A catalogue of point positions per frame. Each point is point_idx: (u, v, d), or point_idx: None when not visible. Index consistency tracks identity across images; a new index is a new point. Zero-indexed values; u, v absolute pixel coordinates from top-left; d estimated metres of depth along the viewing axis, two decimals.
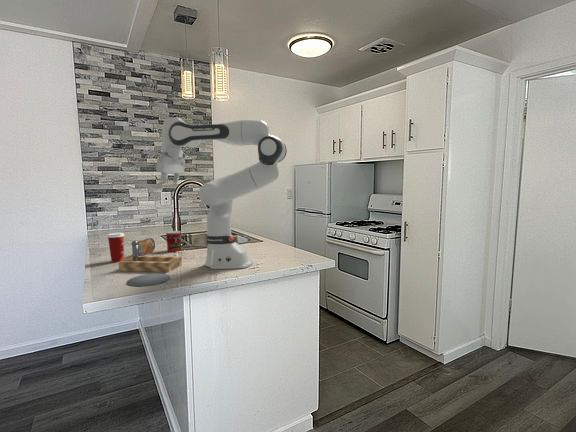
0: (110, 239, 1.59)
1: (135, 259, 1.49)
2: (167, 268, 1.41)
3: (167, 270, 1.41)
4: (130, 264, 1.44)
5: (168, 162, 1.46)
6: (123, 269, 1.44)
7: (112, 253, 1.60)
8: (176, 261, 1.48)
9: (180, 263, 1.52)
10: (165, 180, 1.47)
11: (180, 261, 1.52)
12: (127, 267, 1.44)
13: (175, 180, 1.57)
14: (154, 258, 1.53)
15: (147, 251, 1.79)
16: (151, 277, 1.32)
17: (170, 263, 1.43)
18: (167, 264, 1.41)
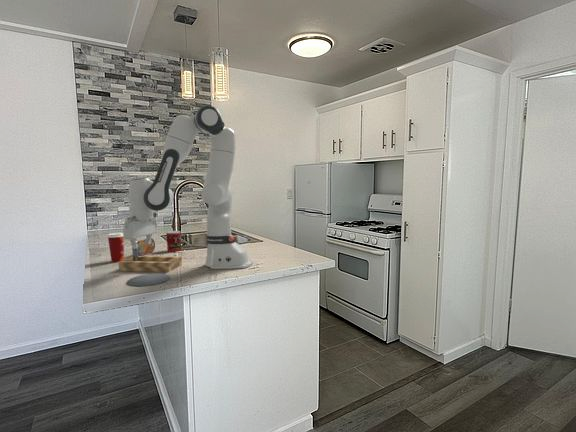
0: (110, 239, 1.59)
1: (135, 259, 1.49)
2: (167, 268, 1.41)
3: (167, 270, 1.41)
4: (130, 264, 1.44)
5: (136, 226, 1.36)
6: (123, 269, 1.44)
7: (112, 253, 1.60)
8: (176, 261, 1.48)
9: (180, 263, 1.52)
10: (135, 246, 1.37)
11: (180, 261, 1.52)
12: (127, 267, 1.44)
13: (147, 242, 1.47)
14: (154, 258, 1.53)
15: (147, 251, 1.79)
16: (151, 277, 1.32)
17: (170, 263, 1.43)
18: (167, 264, 1.41)
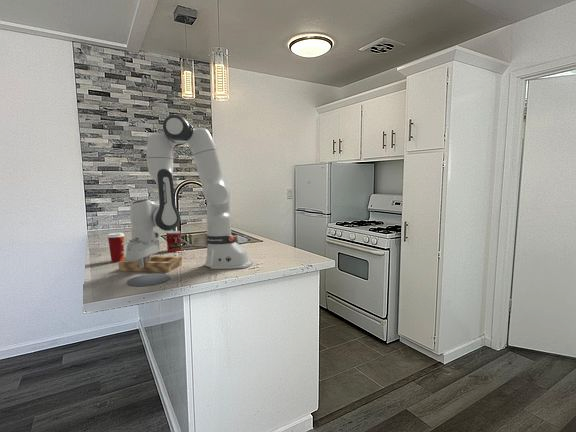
0: (110, 239, 1.59)
1: None
2: (167, 268, 1.41)
3: (167, 270, 1.41)
4: (130, 264, 1.44)
5: (139, 248, 1.38)
6: (123, 269, 1.44)
7: (112, 253, 1.60)
8: (176, 261, 1.48)
9: (180, 263, 1.52)
10: (142, 265, 1.41)
11: (181, 261, 1.52)
12: (127, 267, 1.44)
13: None
14: (154, 258, 1.53)
15: None
16: (151, 277, 1.32)
17: (170, 263, 1.43)
18: (167, 264, 1.41)
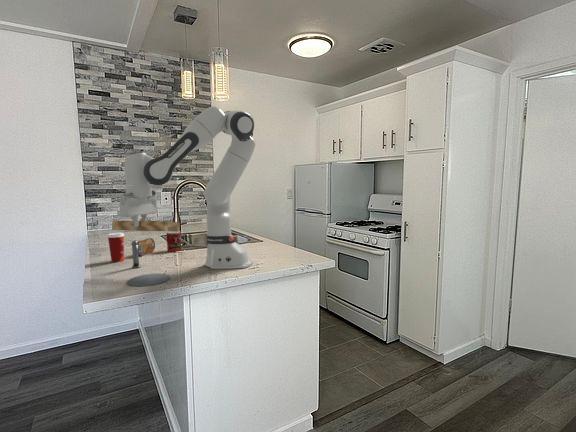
0: (110, 239, 1.59)
1: (135, 259, 1.49)
2: (163, 227, 1.31)
3: (163, 229, 1.31)
4: (125, 223, 1.34)
5: (133, 204, 1.28)
6: (117, 228, 1.35)
7: (112, 253, 1.60)
8: (174, 224, 1.38)
9: (178, 229, 1.41)
10: (137, 224, 1.31)
11: (178, 227, 1.42)
12: (121, 225, 1.34)
13: None
14: None
15: (147, 251, 1.79)
16: (151, 277, 1.32)
17: (167, 222, 1.33)
18: (164, 222, 1.31)
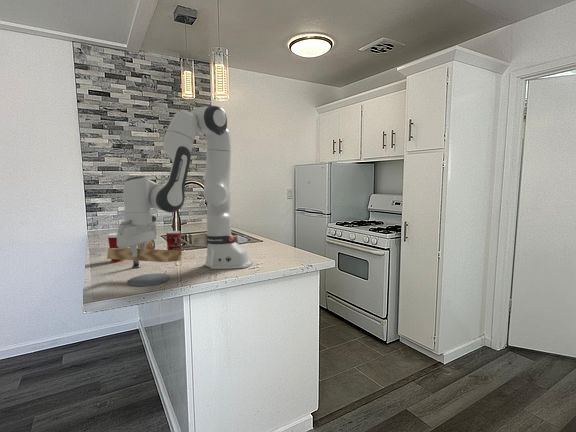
0: (110, 239, 1.59)
1: None
2: (164, 258, 1.21)
3: (164, 260, 1.21)
4: (122, 251, 1.23)
5: (132, 233, 1.17)
6: (113, 257, 1.24)
7: None
8: (175, 253, 1.28)
9: (179, 258, 1.31)
10: (135, 253, 1.21)
11: (180, 256, 1.32)
12: (117, 254, 1.23)
13: None
14: None
15: None
16: (151, 277, 1.32)
17: (168, 253, 1.22)
18: (165, 253, 1.21)
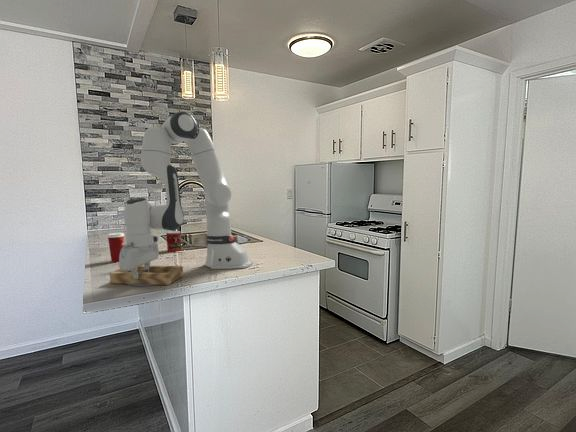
0: (110, 239, 1.59)
1: None
2: (166, 280, 1.22)
3: (166, 283, 1.22)
4: (124, 276, 1.24)
5: (134, 255, 1.18)
6: (116, 281, 1.25)
7: (112, 253, 1.60)
8: (177, 272, 1.29)
9: (181, 274, 1.33)
10: (136, 276, 1.21)
11: (182, 272, 1.33)
12: (120, 279, 1.25)
13: (145, 271, 1.27)
14: (151, 268, 1.33)
15: None
16: None
17: (170, 274, 1.23)
18: (166, 276, 1.22)
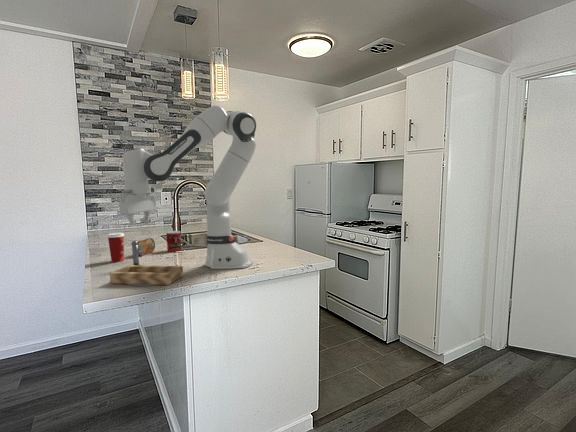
0: (110, 239, 1.59)
1: (135, 259, 1.49)
2: (166, 280, 1.22)
3: (166, 283, 1.22)
4: (124, 276, 1.24)
5: (133, 201, 1.25)
6: (116, 281, 1.25)
7: (112, 253, 1.60)
8: (177, 272, 1.29)
9: (181, 274, 1.33)
10: (132, 222, 1.26)
11: (182, 272, 1.33)
12: (120, 279, 1.25)
13: (146, 219, 1.36)
14: (151, 268, 1.33)
15: (147, 251, 1.79)
16: None
17: (170, 274, 1.23)
18: (166, 276, 1.22)
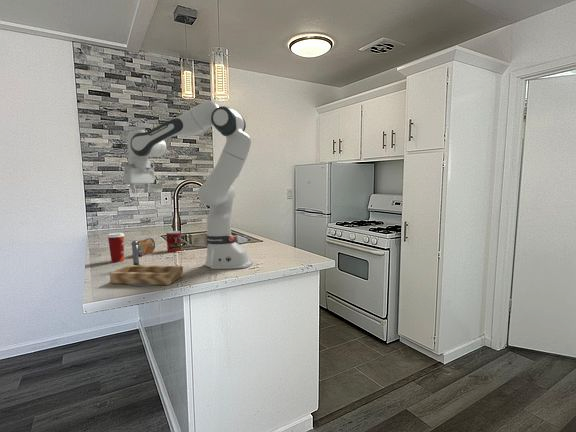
0: (110, 239, 1.59)
1: (135, 259, 1.49)
2: (166, 280, 1.22)
3: (166, 283, 1.22)
4: (124, 276, 1.24)
5: (135, 173, 1.51)
6: (116, 281, 1.25)
7: (112, 253, 1.60)
8: (177, 272, 1.29)
9: (181, 274, 1.33)
10: (134, 191, 1.52)
11: (182, 272, 1.33)
12: (120, 279, 1.25)
13: (146, 190, 1.62)
14: (151, 268, 1.33)
15: (147, 251, 1.79)
16: None
17: (170, 274, 1.23)
18: (166, 276, 1.22)
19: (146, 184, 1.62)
